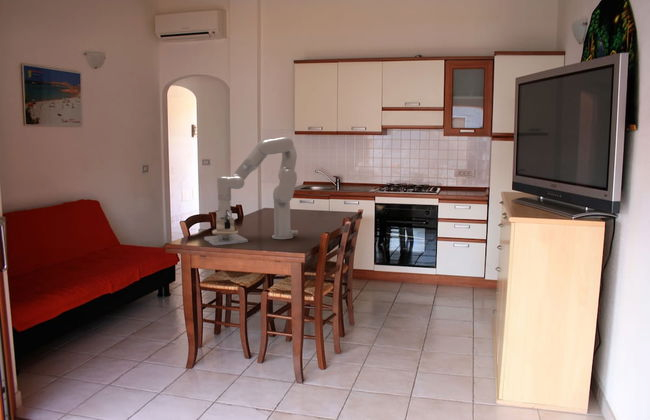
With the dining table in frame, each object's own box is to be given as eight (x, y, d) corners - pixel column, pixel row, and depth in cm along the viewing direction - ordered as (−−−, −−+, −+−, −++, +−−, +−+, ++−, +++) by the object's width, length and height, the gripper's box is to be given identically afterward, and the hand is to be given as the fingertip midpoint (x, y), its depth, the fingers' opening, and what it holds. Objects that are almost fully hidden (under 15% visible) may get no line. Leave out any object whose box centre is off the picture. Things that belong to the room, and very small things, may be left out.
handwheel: (212, 235, 332) (211, 217, 331) (237, 234, 336) (237, 216, 334) (213, 240, 318) (212, 221, 316) (239, 239, 321) (239, 220, 320)
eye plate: (236, 236, 340) (236, 233, 340) (247, 242, 323) (247, 239, 323) (204, 239, 331) (204, 236, 331) (213, 245, 314) (213, 242, 314)
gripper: (213, 196, 329) (214, 225, 332) (222, 199, 314) (223, 230, 317) (226, 195, 333) (227, 224, 335) (235, 198, 317) (236, 229, 320)
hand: (225, 227), depth 326 cm, fingers open, 7 cm apart
